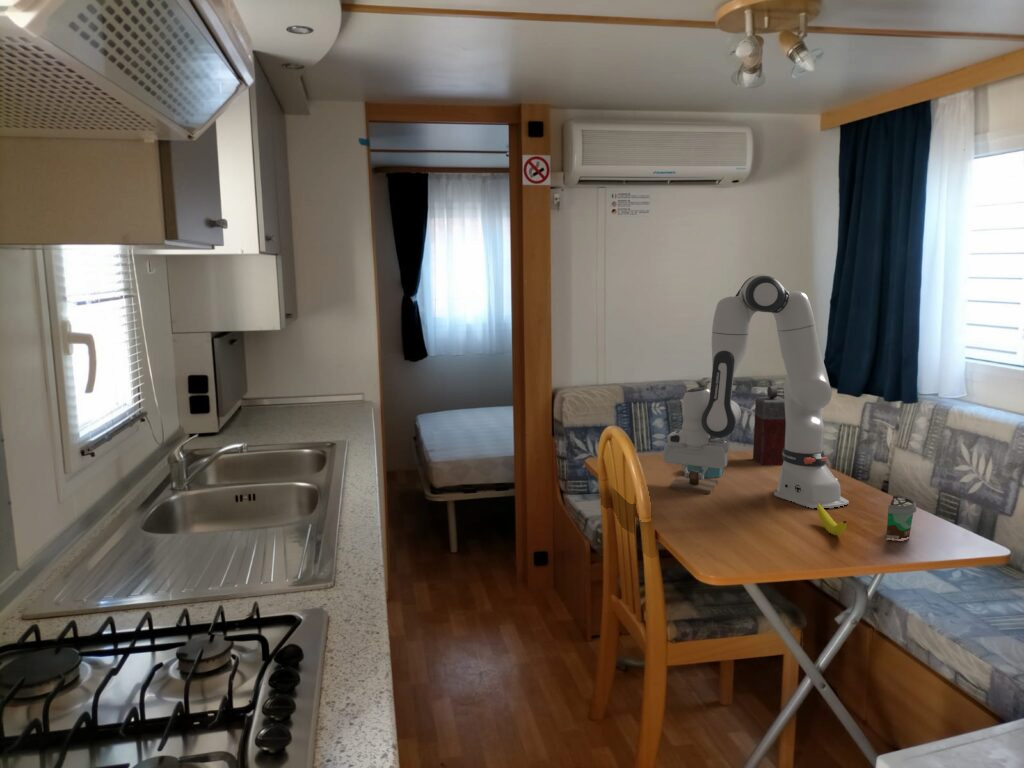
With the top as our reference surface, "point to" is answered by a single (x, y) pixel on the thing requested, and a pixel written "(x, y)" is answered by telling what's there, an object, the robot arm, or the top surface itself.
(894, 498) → the food container
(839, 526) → the banana
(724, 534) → the top surface
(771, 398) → the dark red canister
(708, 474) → the bowl
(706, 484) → the lid
